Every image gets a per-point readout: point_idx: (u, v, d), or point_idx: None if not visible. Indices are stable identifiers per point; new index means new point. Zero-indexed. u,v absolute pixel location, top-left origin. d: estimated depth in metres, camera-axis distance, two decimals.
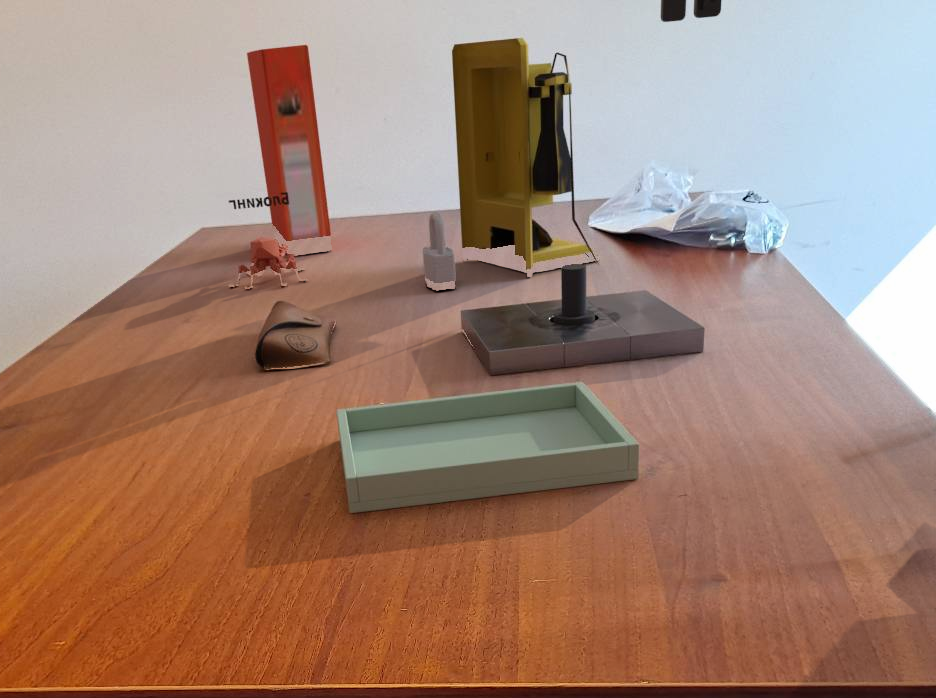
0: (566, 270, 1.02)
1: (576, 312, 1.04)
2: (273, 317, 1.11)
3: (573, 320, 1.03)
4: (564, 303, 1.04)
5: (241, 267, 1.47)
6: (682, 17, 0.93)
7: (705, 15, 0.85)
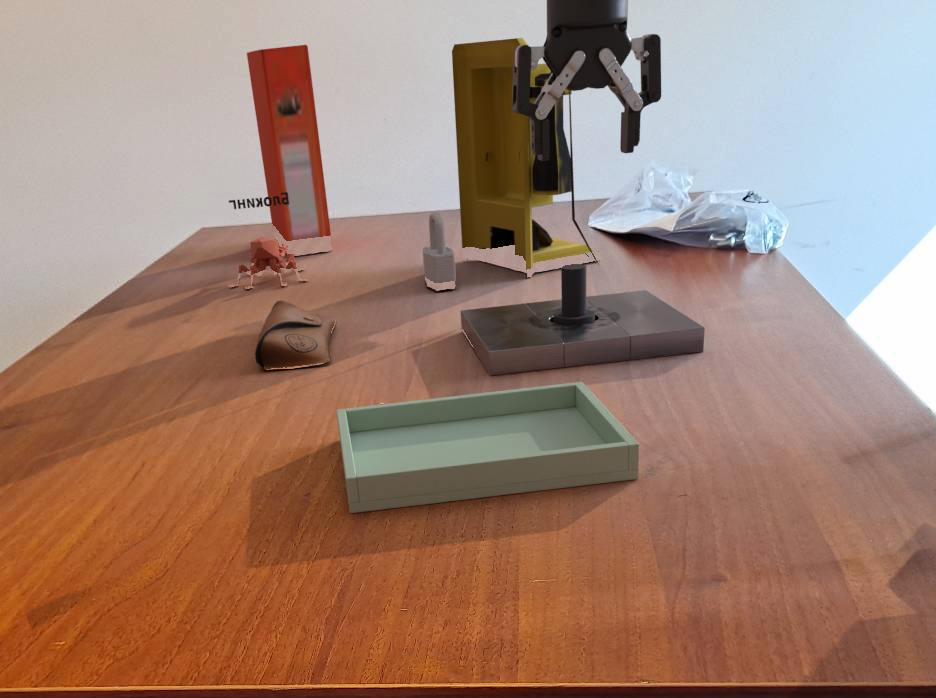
0: (566, 270, 1.02)
1: (576, 312, 1.04)
2: (273, 317, 1.11)
3: (573, 320, 1.03)
4: (564, 303, 1.04)
5: (241, 267, 1.47)
6: (626, 150, 0.97)
7: (539, 158, 0.97)
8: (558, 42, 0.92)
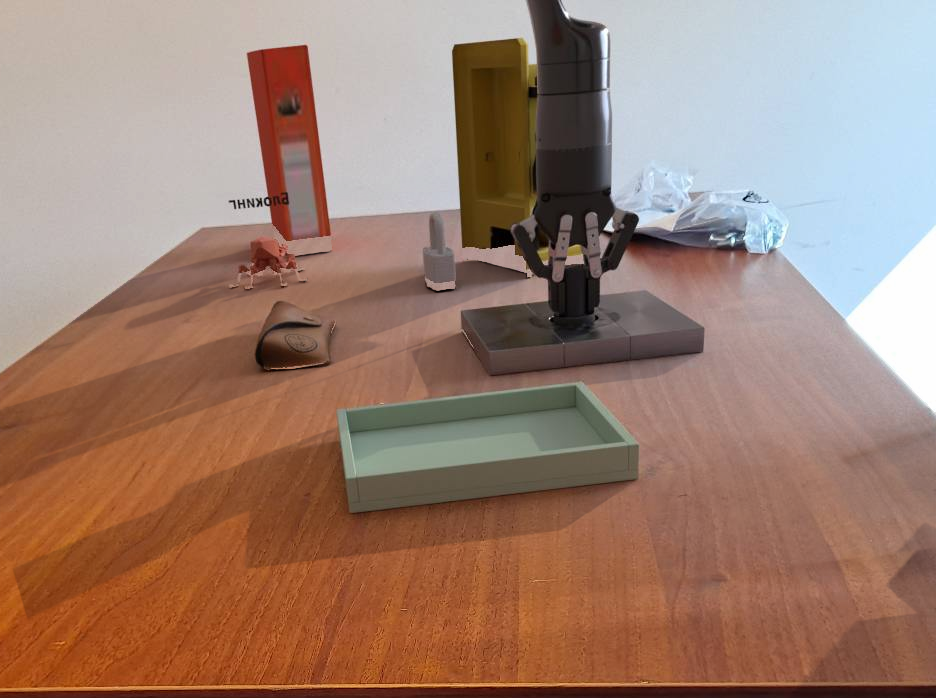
0: (566, 270, 1.02)
1: (576, 312, 1.04)
2: (273, 317, 1.11)
3: (573, 320, 1.03)
4: None
5: (241, 267, 1.47)
6: (587, 311, 1.04)
7: (555, 313, 1.05)
8: (543, 208, 0.99)
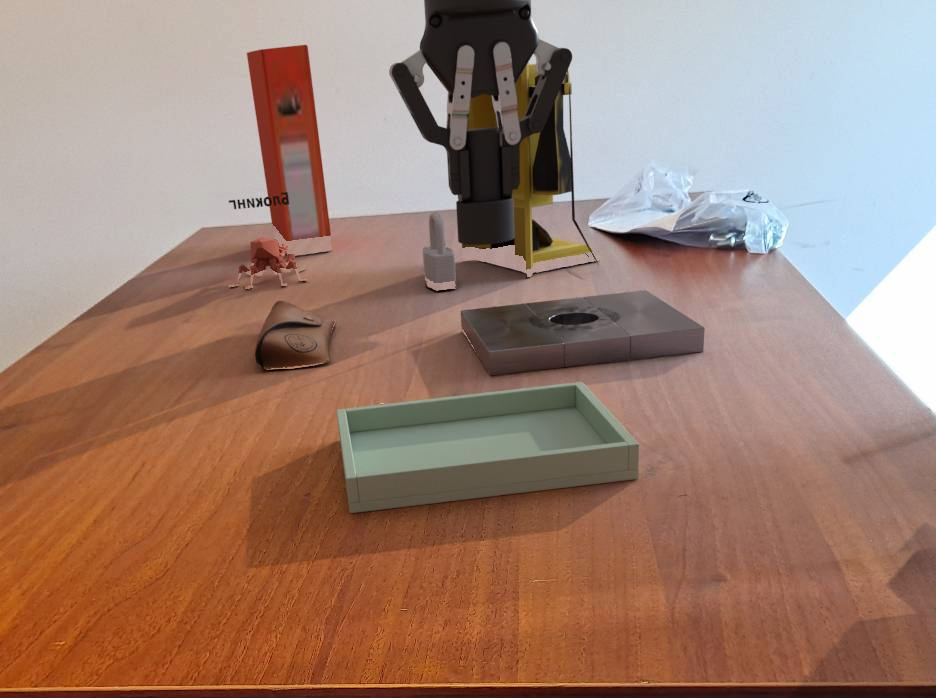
0: (470, 133, 0.72)
1: (486, 195, 0.73)
2: (273, 317, 1.11)
3: (481, 205, 0.73)
4: (470, 183, 0.74)
5: (241, 267, 1.47)
6: (502, 195, 0.74)
7: (459, 199, 0.75)
8: (433, 36, 0.68)
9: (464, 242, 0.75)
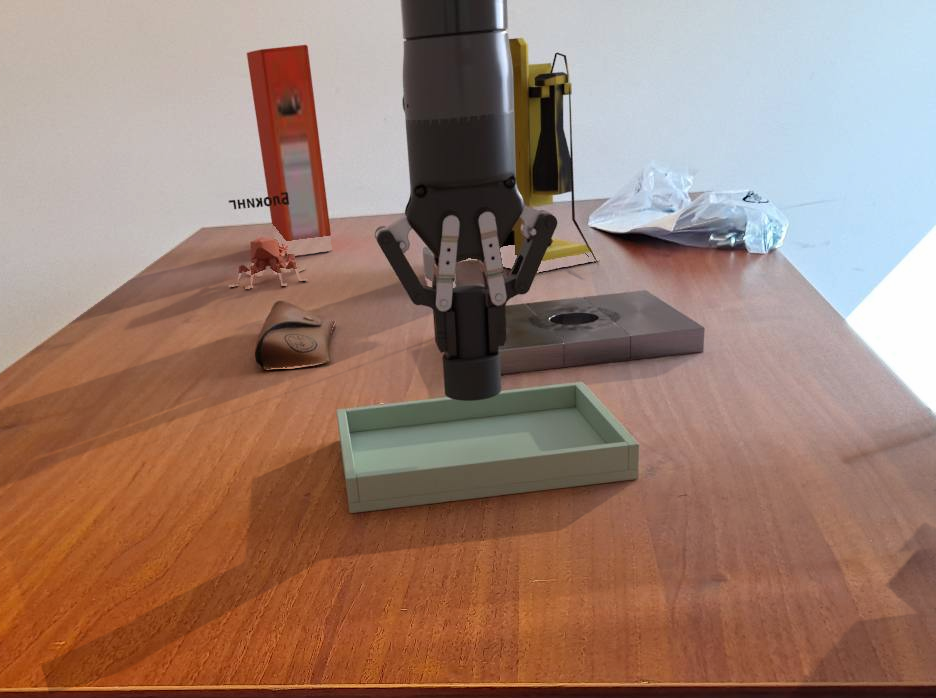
0: (456, 294, 0.72)
1: (472, 353, 0.73)
2: (273, 317, 1.11)
3: (467, 364, 0.73)
4: (456, 340, 0.74)
5: (241, 267, 1.47)
6: (488, 352, 0.74)
7: (445, 354, 0.75)
8: (418, 205, 0.69)
9: (451, 397, 0.75)
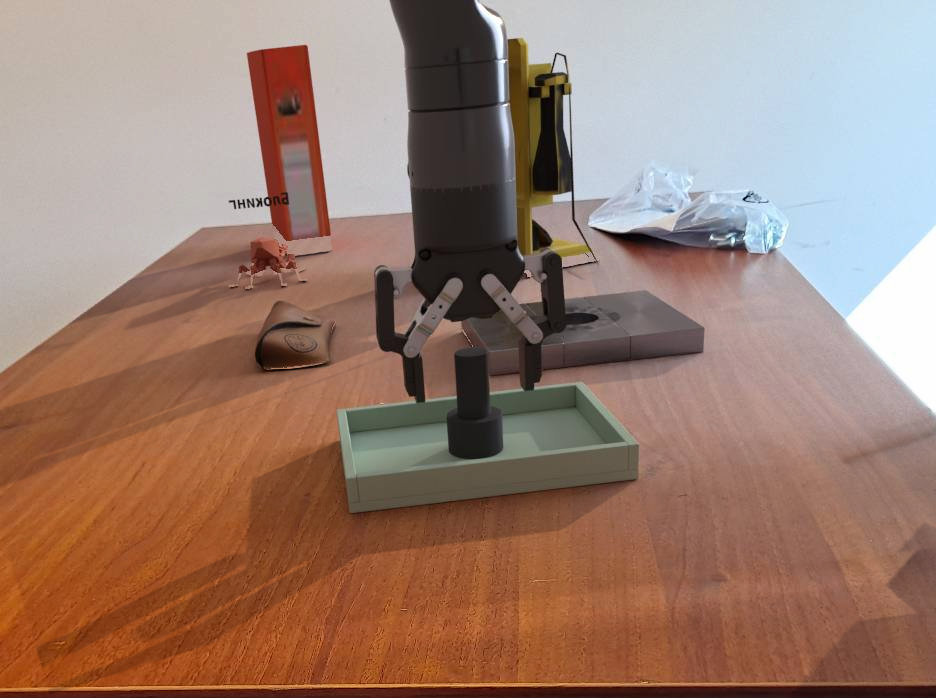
0: (459, 357, 0.74)
1: (475, 413, 0.76)
2: (273, 317, 1.11)
3: (471, 425, 0.75)
4: (459, 401, 0.76)
5: (241, 267, 1.47)
6: (524, 388, 0.76)
7: (414, 397, 0.76)
8: (428, 266, 0.71)
9: (454, 455, 0.77)
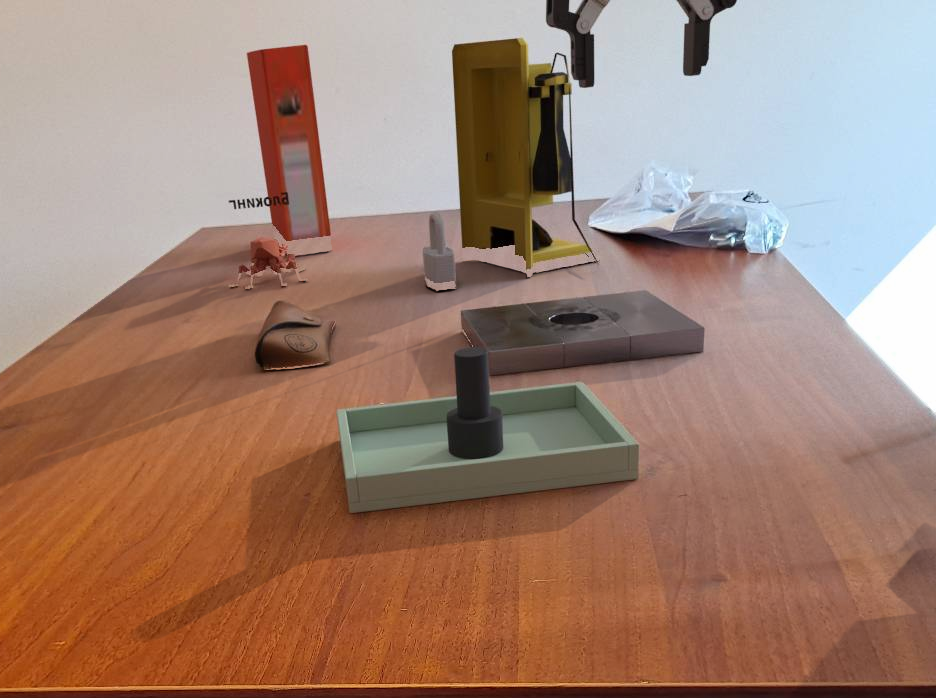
0: (459, 357, 0.74)
1: (475, 413, 0.76)
2: (273, 317, 1.11)
3: (471, 425, 0.75)
4: (459, 401, 0.76)
5: (241, 267, 1.47)
6: (691, 72, 0.76)
7: (581, 85, 0.77)
8: None
9: (454, 455, 0.77)
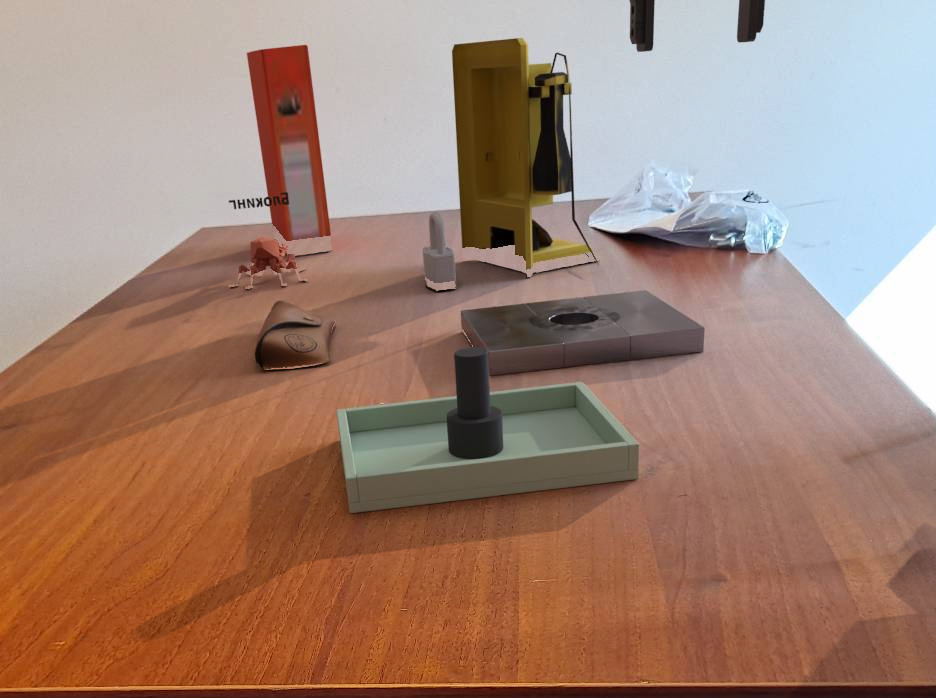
0: (459, 357, 0.74)
1: (475, 413, 0.76)
2: (272, 317, 1.11)
3: (471, 425, 0.75)
4: (459, 401, 0.76)
5: (241, 267, 1.47)
6: (746, 38, 0.79)
7: (639, 49, 0.80)
8: None
9: (454, 455, 0.77)
